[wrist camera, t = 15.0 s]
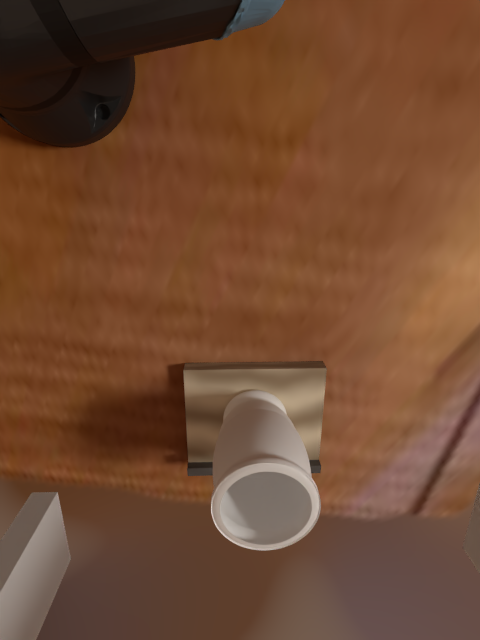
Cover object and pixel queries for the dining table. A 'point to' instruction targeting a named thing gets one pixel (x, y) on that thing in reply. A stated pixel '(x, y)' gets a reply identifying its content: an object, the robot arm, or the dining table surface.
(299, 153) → the dining table surface
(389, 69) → the dining table surface
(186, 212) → the dining table surface
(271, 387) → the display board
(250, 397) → the jar
